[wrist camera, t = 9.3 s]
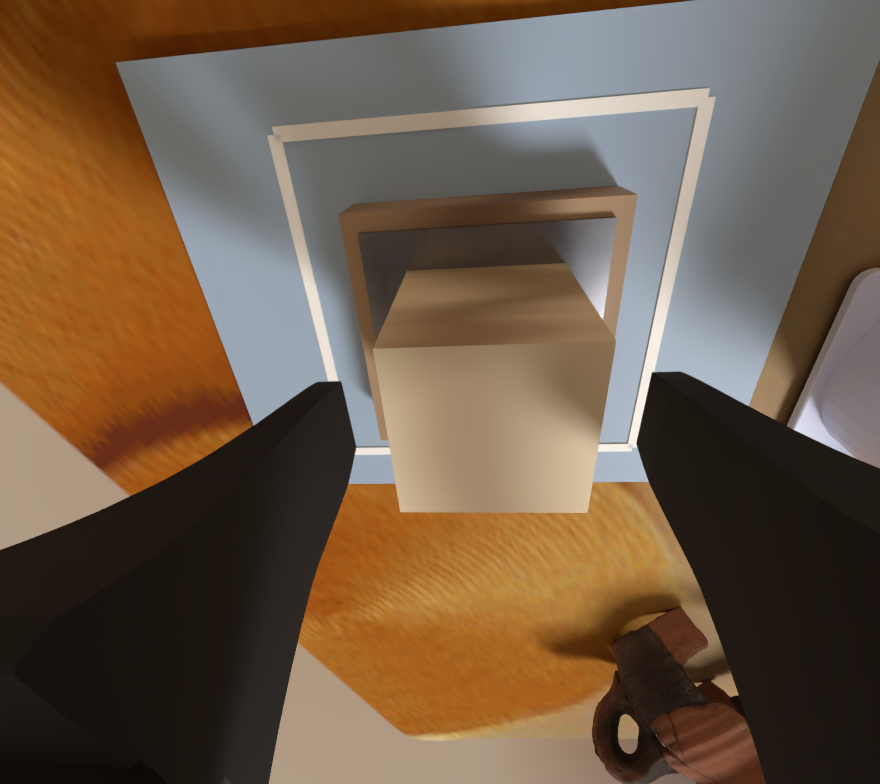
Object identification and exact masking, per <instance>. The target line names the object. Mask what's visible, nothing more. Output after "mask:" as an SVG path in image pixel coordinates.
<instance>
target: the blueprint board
mask: <svg viewBox="0 0 880 784" xmlns="http://www.w3.org/2000/svg"><path fill="white" fill-rule="evenodd" d="M879 60H880V0H693V1H684V2H674V3H665V4H656V5H646V6H637V7H628V8H618V9H609V10H600V11H591V12H581V13H572V14H563V15H553V16H544V17H535V18H525V19H516V20H507V21H497V22H488V23H479V24H469V25H460V26H451V27H441V28H432V29H423V30H413V31H404V32H395V33H385V34H376V35H367V36H357V37H348V38H339V39H329V40H320V41H311V42H301V43H292V44H283V45H273V46H264V47H255V48H245V49H236V50H227V51H217V52H208V53H199V54H189V55H180V56H171V57H161V58H152V59H143V60H133V61H124V62H115V63H116V65H117V68H118V71H119V73H120V76H121V79H122V81H123V84H124V86H125V89H126V92H127V94H128V97H129V100H130V102H131V105H132V107H133V110H134V113H135V115H136V118H137V120H138V123H139V126H140V128H141V131H142V134H143V136H144V139H145V141H146V144H147V147H148V149H149V152H150V155H151V157H152V160H153V162H154V165H155V168H156V170H157V173H158V176H159V178H160V181H161V183H162V186H163V189H164V191H165V194H166V197H167V199H168V202H169V204H170V207H171V210H172V212H173V215H174V218H175V220H176V223H177V225H178V228H179V231H180V233H181V236H182V239H183V241H184V244H185V246H186V249H187V252H188V254H189V257H190V259H191V262H192V265H193V267H194V270H195V273H196V275H197V278H198V280H199V283H200V286H201V288H202V291H203V294H204V296H205V299H206V301H207V304H208V307H209V309H210V312H211V315H212V317H213V320H214V322H215V325H216V328H217V330H218V333H219V336H220V338H221V341H222V343H223V346H224V349H225V351H226V354H227V357H228V359H229V362H230V364H231V367H232V370H233V372H234V375H235V378H236V380H237V383H238V385H239V388H240V391H241V393H242V396H243V398H244V401H245V404H246V406H247V409H248V412H249V414H250V417H251V419H252V422H253V425H255V424H257V423H258V422H260V421H261V420H262V419H264V418H265V417H267V416H268V415H269V414H271V413H272V412H274V411H275V410H276V409H278V408H279V407H281V406H282V405H283V404H285V403H286V402H287V401H289V400H290V399H292V398H293V397H294V396H296V395H297V394H299V393H300V392H302V391H303V390H304V389H306V388H307V387H309V386H311V385H312V384H314V383H316V382H326V381H341V382H342V386H343V390H344V395H345V399H346V404H347V408H348V412H349V417H350V421H351V425H352V430H353V434H354V439H355V443H356V452H355V457H354V461H353V466H352V471H351V475H350V479H349V483H348V484H380V483H395V477H394V471H393V465H392V459H391V453H390V447H389V441H388V435H387V429H386V423H385V418H384V412H383V406H382V400H381V394H380V388H379V382H378V376H377V370H376V364H375V358H374V353H373V347H374V345H375V343H376V340H377V338H378V336H379V334H380V331H381V329H382V327H383V324H384V322H385V320H386V318H387V315H388V313H389V311H390V308H391V306H392V304H393V302H394V299H395V297H396V295H397V292H398V290H399V288H400V285H401V283H402V281H403V279H404V276H405V274H406V272H407V271H414V270H435V269H455V268H475V267H496V266H516V265H536V264H557V263H566V264H567V266H568V267H569V269H570V270H571V272H572V273H573V275H574V277H575V278H576V280H577V281H578V283H579V284H580V286H581V287H582V289H583V290H584V292H585V293H586V295H587V297H588V298H589V300H590V301H591V303H592V304H593V306H594V307H595V309H596V310H597V312H598V313H599V315H600V316H601V318H602V320H603V321H604V323H605V324H606V326H607V327H608V329H609V330H610V332H611V333H612V335H613V336H614V338H615V339H616V346H615V352H614V358H613V364H612V370H611V376H610V382H609V388H608V394H607V400H606V406H605V412H604V417H603V423H602V429H601V435H600V441H599V447H598V453H597V459H596V465H595V471H594V477H593V482H649V481H648V479H647V476H646V473H645V470H644V467H643V464H642V461H641V457H640V454H639V451H638V448H637V444H636V442H637V437H638V433H639V428H640V424H641V419H642V415H643V410H644V406H645V401H646V397H647V392H648V388H649V383H650V379H651V374H652V372H678V371H681V372H683V373H686V374H688V375H690V376H692V377H694V378H696V379H698V380H700V381H702V382H704V383H706V384H708V385H710V386H712V387H714V388H716V389H718V390H719V391H721V392H723V393H725V394H727V395H729V396H730V397H732V398H734V399H736V400H738V401H740V402H742V403H743V404H745V405H747V406H749V403H750V401H751V398H752V395H753V393H754V390H755V387H756V385H757V382H758V379H759V377H760V374H761V372H762V369H763V366H764V364H765V361H766V358H767V356H768V353H769V350H770V348H771V345H772V343H773V340H774V337H775V335H776V332H777V329H778V327H779V324H780V321H781V319H782V316H783V314H784V311H785V308H786V306H787V303H788V300H789V298H790V295H791V292H792V290H793V287H794V285H795V282H796V279H797V277H798V274H799V271H800V269H801V266H802V263H803V261H804V258H805V256H806V253H807V250H808V248H809V245H810V242H811V240H812V237H813V234H814V232H815V229H816V227H817V224H818V221H819V219H820V216H821V213H822V211H823V208H824V205H825V203H826V200H827V198H828V195H829V192H830V190H831V187H832V184H833V182H834V179H835V176H836V174H837V171H838V169H839V166H840V163H841V161H842V158H843V155H844V153H845V150H846V147H847V145H848V142H849V139H850V137H851V134H852V132H853V129H854V126H855V124H856V121H857V118H858V116H859V113H860V110H861V108H862V105H863V103H864V100H865V97H866V95H867V92H868V89H869V87H870V84H871V81H872V79H873V76H874V74H875V71H876V68H877V66H878V63H879Z"/></svg>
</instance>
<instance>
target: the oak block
mask: <svg viewBox="0 0 880 784" xmlns="http://www.w3.org/2000/svg"><path fill="white" fill-rule="evenodd" d="M615 346H616V339H615V338H614V336H613V335H612V333H611V332H610V330H609V329H608V327H607V326H606V324H605V323H604V321H603V320H602V318H601V316H600V315H599V313H598V312H597V310H596V309H595V307H594V306H593V304H592V303H591V301H590V300H589V298H588V297H587V295H586V293H585V292H584V290H583V289H582V287H581V286H580V284H579V283H578V281H577V280H576V278H575V277H574V275H573V273H572V272H571V270H570V269H569V267H568V266H567V264H566V263H557V264H536V265H516V266H496V267H475V268H455V269H435V270H414V271H407V272H406V274H405V276H404V279H403V281H402V283H401V285H400V288H399V290H398V292H397V295H396V297H395V299H394V302H393V304H392V306H391V308H390V311H389V313H388V315H387V318H386V320H385V322H384V324H383V327H382V329H381V331H380V334H379V336H378V338H377V340H376V343H375V345H374V347H373V353H374V358H375V364H376V370H377V376H378V382H379V388H380V394H381V400H382V406H383V412H384V418H385V423H386V429H387V435H388V441H389V447H390V453H391V459H392V465H393V471H394V477H395V483H396V488H397V494H398V500H399V506H400V512H523V513H587V512H588V506H589V501H590V495H591V489H592V483H593V477H594V471H595V465H596V459H597V453H598V447H599V441H600V435H601V429H602V423H603V417H604V412H605V406H606V400H607V394H608V388H609V382H610V376H611V370H612V364H613V358H614V352H615Z"/></svg>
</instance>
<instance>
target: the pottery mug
mask: <svg viewBox="0 0 880 784" xmlns="http://www.w3.org/2000/svg"><path fill="white" fill-rule="evenodd" d="M707 646H708V641H707V639H706V637H705V636H704V635H703V633H702V632H701V631H700V630H699V629H697V628H696V627H695V625H694V624H693V623H692V621H691V620H690V618H689V617H688V616H687V615H686V613H685V612H684V611H683V610H682V608H676V609H674V610H672V611H669V612H666V613H665V614H663V615H662V616H659V617H657V618H656V619H655V620H653V621H651V622H650V623H648V624H647V625H644V626H642V627H641V628H639V629H638V630H636V631H630V632H629V633H627V634H626V635H624V636H623V637H621V638H620V639H618V640H617V641H616V642H615V643H614V644H613V645H612V649H613V652H614V655H615V659H616V663H617V668H618V671H615V674H614V680H613V684H612V686H611V688H610V690H609V692H608V693H607V694H606V695H605V696H604V697H603V698H602V700H601V701H600V702H599V703H598V705H597V707H596V711H595V714H594V719H593V727H592V737H593V743H594V745H595V753H596V755H597V756H598V757H599V758H600V760H601V761H602V762H603V763H604V764H605V768H606V770H607V771H608V772H609V773H610V774H611V775H612V776H613V777H614V778H615V779H617V780H618V781H620V782H622V783H623V784H649V783H651V782H653V781H655V780H656V779H658V778H660V777H661V776H664V775H667V774H673V773H674V774H678V773H680V774H682V775H683V776H685V777H689V778H691V779H693V780H694V781H695V782H696V783H697V784H766V782H765V779H764V775H763V772H762V768H761V765H760V761H759V758H758V754H757V751H756V748H755V745H754V742H753V738H752V735H751V732H750V729H749V726H748V723H747V719H746V716H745V713H744V710H743V707H742V704H741V700H740V697H739V696H733V697H729V696H728V695H727V694H726V692H725V691H724V690H723V689H721V688H719V687H718V686H716V685H715V684H714V683H712V682H711V681H709V680H704V681H703V682H702V684H700V685H699V686H698V687H696V686H695V684H694V683H693V682H692V681H691V680H690V679H689V678H688V676H687V675H686V673H685V671H684V669H683V667H682V666H683V665H684V664H685V663H686V662H687V661H688V659H689V658H691V657H693V656H694V655H695V654H697V653H698V652H699V651H701V650H703V649H705V648H707ZM624 714H627V715H630V716H631V717H632V719H633V720H634V721H635V722H636V723H637V724H638V726H639V735H638V745H637V749H636V751H635V752H634V753H632V754H627V753H625V752H624V751H623V750H622V749H621V747H620V746H619V743H618V726H619V721H620V717H621V716H622V715H624ZM656 735H657V736H656ZM657 737H658V738H659V739H658V738H657ZM659 740H660V741H661V742H660V741H659ZM661 743H663V744H664V745H665V746H666V747H664V746H663V745H662V744H661Z"/></svg>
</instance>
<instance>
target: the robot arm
mask: <svg viewBox="0 0 880 784" xmlns="http://www.w3.org/2000/svg"><path fill="white" fill-rule="evenodd" d="M636 444H637V448H638V451H639V454H640V457H641V461H642V464H643V467H644V470H645V473H646V476H647V479H648V481H649V483H650V486H651V488H652V490H653V492H654V494H655V496H656V498H657V500H658V502H659V504H660V506H661V508H662V510H663V512H664V514H665V516H666V518H667V520H668V522H669V524H670V526H671V528H672V530H673V532H674V534H675V536H676V538H677V540H678V542H679V544H680V546H681V548H682V550H683V552H684V554H685V556H686V558H687V560H688V562H689V564H690V566H691V568H692V570H693V573H694V575H695V577H696V579H697V581H698V584H699V586H700V588H701V591H702V593H703V596H704V599H705V601H706V604H707V607H708V609H709V612H710V615H711V617H712V620H713V623H714V625H715V628H716V631H717V633H718V636H719V639H720V642H721V645H722V647H723V650H724V653H725V656H726V659H727V662H728V665H729V668H730V671H731V673H732V676H733V679H734V682H735V685H736V688H737V691H738V694H739V697H740V700H741V704H742V707H743V710H744V713H745V716H746V719H747V723H748V726H749V729H750V732H751V735H752V738H753V742H754V745H755V748H756V751H757V754H758V758H759V761H760V765H761V768H762V772H763V775H764V779H765V782H766V784H880V268H872V269H867V270H865V271H863V272H861V273H860V274H859V275H858V276H856V277H855V278H854V280H853V281H852V283H851V285H850V287H849V289H848V291H847V293H846V296H845V298H844V300H843V302H842V305H841V307H840V309H839V311H838V313H837V316H836V318H835V320H834V322H833V324H832V327H831V329H830V331H829V333H828V336H827V338H826V340H825V342H824V344H823V347H822V349H821V351H820V353H819V356H818V358H817V360H816V362H815V364H814V367H813V369H812V371H811V373H810V375H809V378H808V380H807V382H806V384H805V387H804V389H803V391H802V393H801V395H800V398H799V400H798V402H797V404H796V407H795V409H794V411H793V413H792V415H791V418H790V420H789V422H788V424H787V426H785V425H783V424H781V423H780V422H778V421H776V420H774V419H772V418H770V417H768V416H766V415H764V414H762V413H760V412H758V411H757V410H755V409H753V408H751V407H749V406H747V405H745V404H743V403H742V402H740V401H738V400H736V399H734V398H732V397H730V396H729V395H727V394H725V393H723V392H721V391H719V390H718V389H716V388H714V387H712V386H710V385H708V384H706V383H704V382H702V381H700V380H698V379H696V378H694V377H692V376H690V375H688V374H686V373H683V372H681V371H678V372H652V374H651V379H650V383H649V388H648V392H647V397H646V401H645V406H644V410H643V415H642V419H641V424H640V428H639V433H638V437H637V442H636ZM355 452H356V443H355V439H354V434H353V430H352V425H351V421H350V417H349V412H348V408H347V404H346V399H345V395H344V390H343V386H342V382H341V381H326V382H316V383H314V384H312V385H311V386H309V387H307V388H306V389H304V390H303V391H302V392H300V393H299V394H297V395H296V396H294V397H293V398H292V399H290V400H289V401H287V402H286V403H285V404H283V405H282V406H281V407H279V408H278V409H276V410H275V411H274V412H272V413H271V414H269V415H268V416H267V417H265V418H264V419H262V420H261V421H260V422H258V423H257V424H255V425H254V426H252V427H251V428H249V429H248V430H246V431H245V432H243V433H242V434H240V435H239V436H237V437H236V438H234V439H233V440H231V441H230V442H228V443H227V444H225V445H224V446H222V447H220V448H219V449H217V450H216V451H214V452H213V453H211V454H209V455H208V456H206V457H204V458H203V459H201V460H199V461H198V462H196V463H194V464H192V465H191V466H189V467H187V468H185V469H183V470H182V471H180V472H178V473H176V474H174V475H172V476H171V477H169V478H167V479H165V480H163V481H161V482H159V483H157V484H155V485H153V486H151V487H149V488H147V489H145V490H143V491H141V492H138V493H136V494H134V495H132V496H130V497H128V498H126V499H124V500H122V501H120V502H117V503H115V504H113V505H111V506H109V507H107V508H105V509H102V510H100V511H98V512H96V513H93V514H91V515H89V516H86V517H84V518H82V519H80V520H77V521H74V522H72V523H70V524H67V525H65V526H63V527H60V528H57V529H55V530H52V531H50V532H47V533H45V534H42V535H39V536H37V537H34V538H32V539H29V540H26V541H24V542H21V543H19V544H16V545H13V546H10V547H8V548H5V549H2V550H0V784H268V783H269V778H270V772H271V767H272V762H273V756H274V751H275V745H276V740H277V734H278V729H279V724H280V720H281V715H282V710H283V705H284V701H285V696H286V691H287V686H288V681H289V677H290V672H291V668H292V664H293V659H294V655H295V651H296V647H297V642H298V638H299V634H300V630H301V625H302V622H303V618H304V614H305V610H306V606H307V602H308V598H309V595H310V591H311V587H312V583H313V580H314V577H315V574H316V571H317V567H318V564H319V562H320V559H321V556H322V554H323V551H324V548H325V546H326V543H327V540H328V538H329V535H330V532H331V529H332V527H333V524H334V521H335V519H336V516H337V513H338V511H339V508H340V505H341V503H342V500H343V497H344V494H345V492H346V489H347V486H348V483H349V479H350V475H351V471H352V466H353V461H354V457H355Z"/></svg>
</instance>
